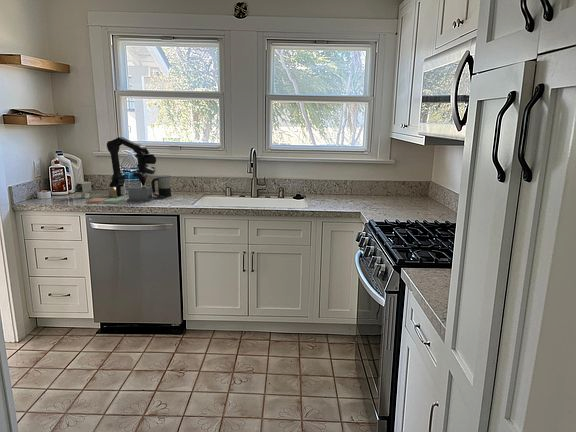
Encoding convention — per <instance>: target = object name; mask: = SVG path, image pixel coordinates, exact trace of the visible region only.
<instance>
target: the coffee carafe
mask: <svg viewBox="0 0 576 432" xmlns="http://www.w3.org/2000/svg"><path fill="white" fill-rule="evenodd" d="M171 177H172V176H171V175H167V174H165V175H157V177H154V178H153V179H152V180H151V181H150V182H151V190H152V196H153V197H156V198H158V199H163V198H165V197H166V198H168V197H172V185H171V184H172V183H171ZM156 181H157V191H158V193H156V185H155V182H156Z"/></svg>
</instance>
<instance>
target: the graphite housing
mask: <svg viewBox="0 0 576 432" xmlns="http://www.w3.org/2000/svg"><path fill="white" fill-rule="evenodd" d="M127 191H128V192H127V193H128V198H127V202H152V201H154V200H155V197H153V192H152V186H130V187H127Z"/></svg>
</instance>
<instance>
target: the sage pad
mask: <svg viewBox="0 0 576 432" xmlns="http://www.w3.org/2000/svg"><path fill="white" fill-rule="evenodd" d="M124 202H125V198H118V197H117V198H110V199H109V198H108V199H107V200H105V201H103V202H102V203H103V204H113V203H115V204H116V205H117V204H120V203H124ZM115 204H114V205H115Z"/></svg>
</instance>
